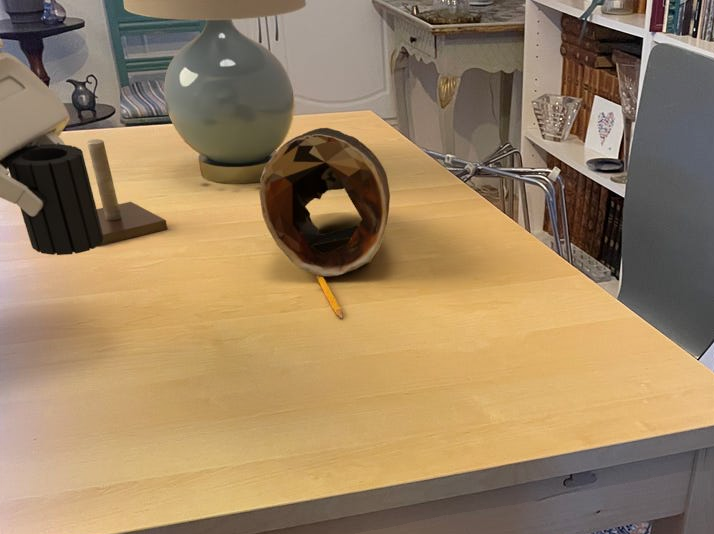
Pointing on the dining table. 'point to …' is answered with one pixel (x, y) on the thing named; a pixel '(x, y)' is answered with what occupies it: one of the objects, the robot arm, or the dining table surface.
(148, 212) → the peg stand
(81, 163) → the ribbed black tube
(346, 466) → the dining table surface
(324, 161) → the clay pot
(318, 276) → the pencil
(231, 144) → the lamp
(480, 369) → the dining table surface
